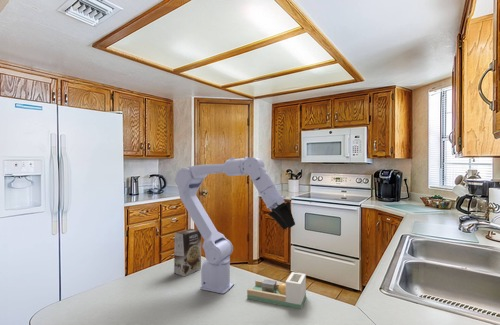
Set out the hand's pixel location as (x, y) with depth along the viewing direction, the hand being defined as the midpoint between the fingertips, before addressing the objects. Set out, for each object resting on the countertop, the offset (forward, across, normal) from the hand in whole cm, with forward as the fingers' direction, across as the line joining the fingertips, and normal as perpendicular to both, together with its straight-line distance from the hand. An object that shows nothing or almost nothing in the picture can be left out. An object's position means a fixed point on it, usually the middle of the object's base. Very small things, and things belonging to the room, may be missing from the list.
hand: (289, 227), depth 82 cm
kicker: (+14, +9, +14) cm, 22 cm away
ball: (+16, +6, +10) cm, 20 cm away
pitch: (+17, +8, +13) cm, 23 cm away
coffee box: (-4, +33, +38) cm, 50 cm away
